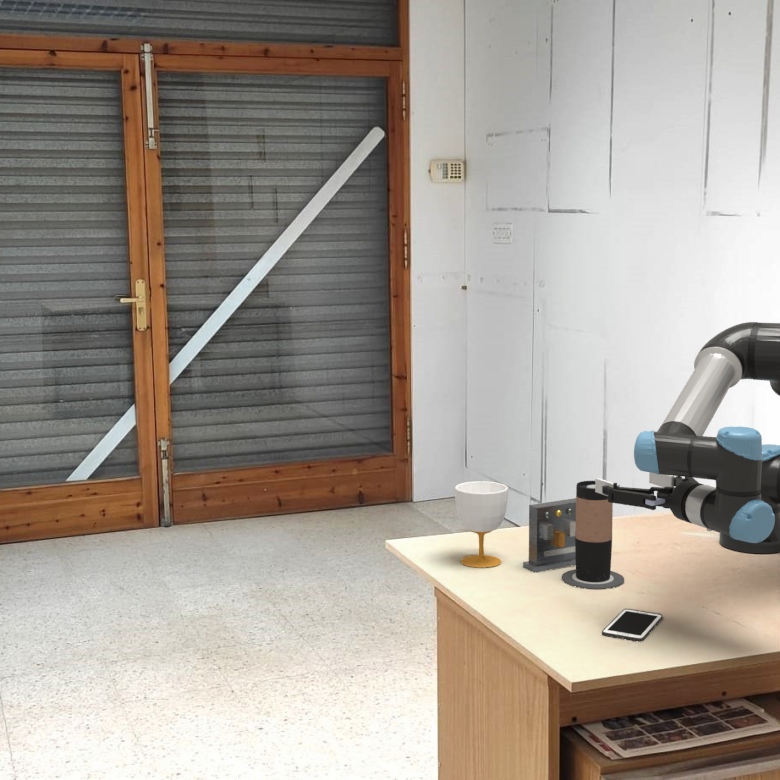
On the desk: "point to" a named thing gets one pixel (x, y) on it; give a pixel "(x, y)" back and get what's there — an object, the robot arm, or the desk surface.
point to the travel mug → (592, 534)
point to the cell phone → (632, 625)
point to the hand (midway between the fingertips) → (624, 480)
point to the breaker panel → (551, 535)
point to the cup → (481, 514)
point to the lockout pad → (572, 580)
